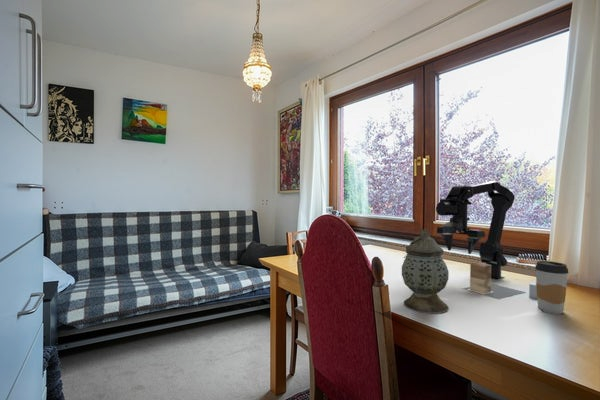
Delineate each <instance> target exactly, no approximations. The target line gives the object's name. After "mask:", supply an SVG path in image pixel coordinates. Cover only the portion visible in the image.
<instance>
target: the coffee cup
mask: <svg viewBox="0 0 600 400" xmlns="http://www.w3.org/2000/svg"><path fill="white" fill-rule="evenodd" d="M534 266H535V267H534V269H535V282H536V289H537V298H536V299H537V307H538V309H540V310H541V311H542V312H543V313H544V312H546V313H549V314H554V315H555V314H556V315H561V314H563V312H565V303H566V297H567V296H566V295H567V283H568V281H567V280H568V274H569V268H568V267H567V264H566V263H561V262H557V261H548V260H537V261H536V264H535V265H534Z"/></svg>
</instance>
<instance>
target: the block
mask: <svg viewBox="0 0 600 400" xmlns="http://www.w3.org/2000/svg"><path fill="white" fill-rule="evenodd" d="M528 285H529V291H528V292H529V293H528V294H529V295H528V297H529V298H534V299H537V289H536V281H532V282H530V283H529V284H528Z"/></svg>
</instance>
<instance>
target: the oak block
mask: <svg viewBox="0 0 600 400" xmlns="http://www.w3.org/2000/svg"><path fill="white" fill-rule="evenodd" d="M491 284H492V278H490V279H485V280H482V279H477V278H473V277H470V276H469V287H470V290H472V291H476V292H480V293H487V292H491Z"/></svg>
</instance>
